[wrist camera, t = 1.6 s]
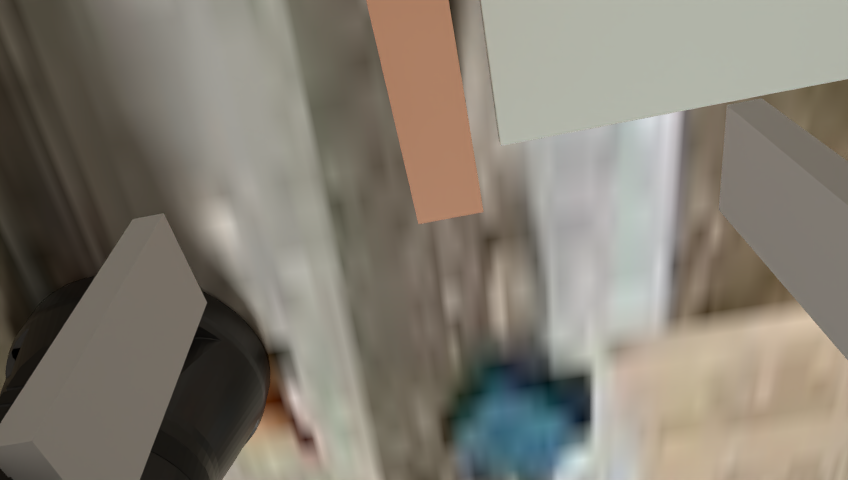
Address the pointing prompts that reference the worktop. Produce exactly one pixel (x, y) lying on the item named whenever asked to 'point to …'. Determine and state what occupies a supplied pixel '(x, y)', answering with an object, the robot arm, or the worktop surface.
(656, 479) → the worktop surface
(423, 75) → the tile
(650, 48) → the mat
